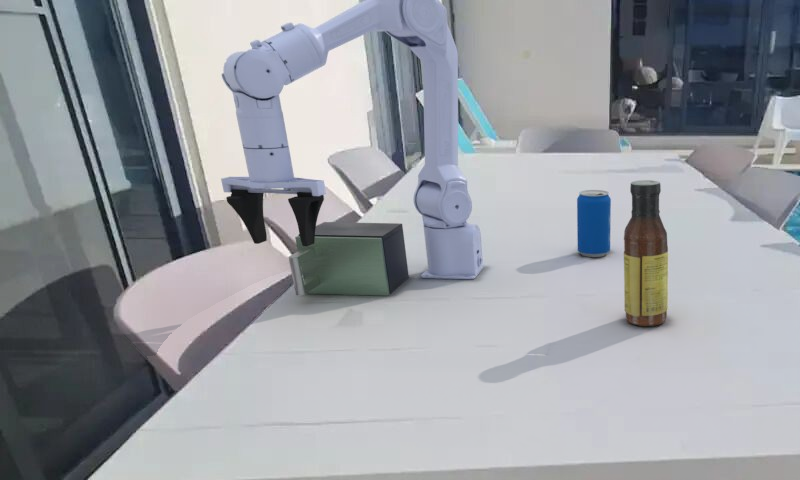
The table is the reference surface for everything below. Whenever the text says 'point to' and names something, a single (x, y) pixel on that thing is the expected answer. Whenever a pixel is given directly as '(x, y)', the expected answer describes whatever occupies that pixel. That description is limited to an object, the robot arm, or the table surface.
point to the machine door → (340, 266)
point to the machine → (386, 231)
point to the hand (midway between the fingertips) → (284, 243)
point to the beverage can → (593, 223)
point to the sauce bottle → (645, 258)
